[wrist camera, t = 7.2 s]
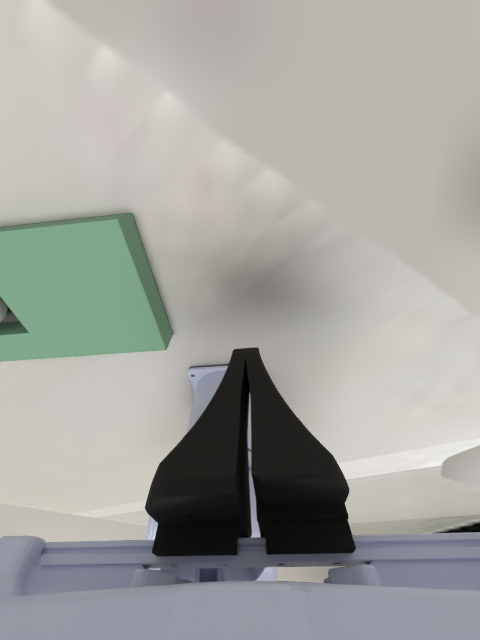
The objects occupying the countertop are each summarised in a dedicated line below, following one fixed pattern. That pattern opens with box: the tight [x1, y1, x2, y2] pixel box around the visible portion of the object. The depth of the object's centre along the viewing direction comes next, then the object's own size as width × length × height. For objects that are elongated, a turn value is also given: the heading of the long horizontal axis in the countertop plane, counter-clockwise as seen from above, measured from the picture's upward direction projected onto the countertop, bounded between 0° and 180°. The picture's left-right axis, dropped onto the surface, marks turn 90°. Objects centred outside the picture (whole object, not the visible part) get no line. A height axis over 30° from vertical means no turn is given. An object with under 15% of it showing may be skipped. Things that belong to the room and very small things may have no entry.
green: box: [0, 213, 173, 362], centre depth 20 cm, size 12×19×2 cm, turn 95°
